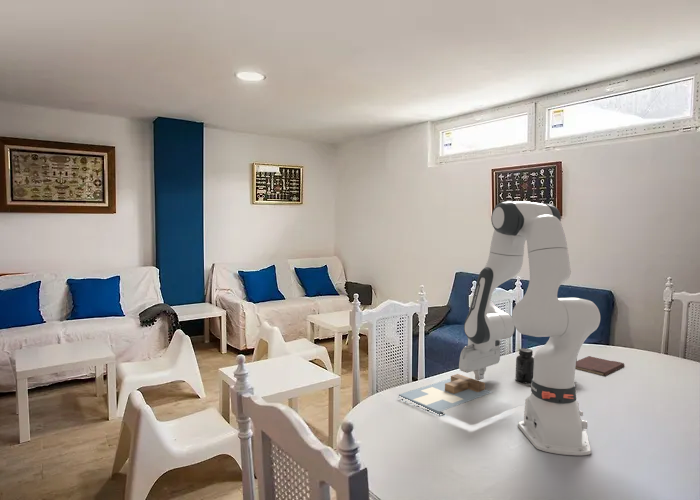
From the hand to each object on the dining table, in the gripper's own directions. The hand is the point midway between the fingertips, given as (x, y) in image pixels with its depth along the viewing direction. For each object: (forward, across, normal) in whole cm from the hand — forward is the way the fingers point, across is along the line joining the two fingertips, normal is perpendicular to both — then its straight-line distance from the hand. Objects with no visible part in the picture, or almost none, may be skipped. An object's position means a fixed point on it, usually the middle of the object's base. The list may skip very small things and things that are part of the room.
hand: (479, 379), depth 172 cm
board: (+3, -18, 0) cm, 19 cm away
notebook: (+3, +60, -15) cm, 62 cm away
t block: (+1, -11, 0) cm, 11 cm away
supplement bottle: (+3, +19, -7) cm, 21 cm away
